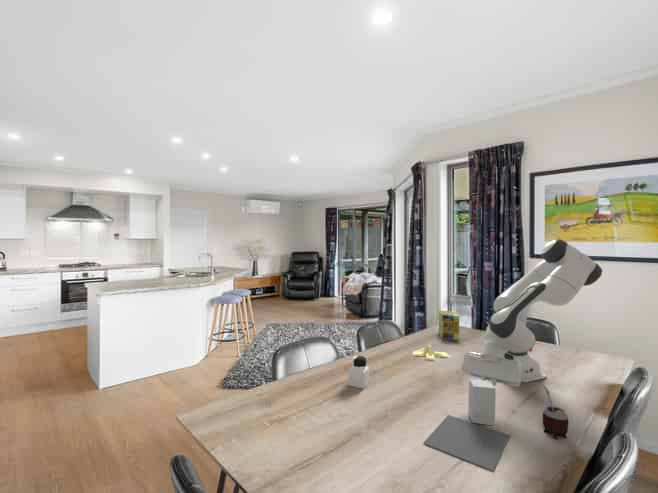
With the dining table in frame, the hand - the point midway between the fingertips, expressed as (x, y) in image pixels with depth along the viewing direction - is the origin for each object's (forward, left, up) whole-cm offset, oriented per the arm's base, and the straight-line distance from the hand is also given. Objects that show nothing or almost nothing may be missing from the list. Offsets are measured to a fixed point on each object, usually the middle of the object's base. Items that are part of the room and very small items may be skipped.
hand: (486, 390), depth 124 cm
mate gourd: (-13, +16, -9) cm, 22 cm away
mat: (+17, +14, -8) cm, 23 cm away
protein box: (-41, -94, -9) cm, 103 cm away
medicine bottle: (+39, -32, -9) cm, 51 cm away
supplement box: (+5, +4, -8) cm, 10 cm away
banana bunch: (-10, -63, -9) cm, 65 cm away
